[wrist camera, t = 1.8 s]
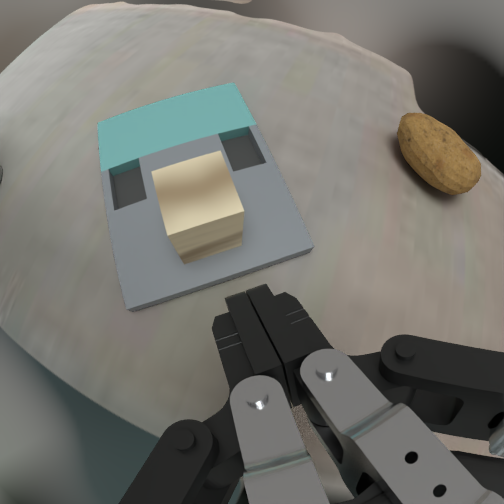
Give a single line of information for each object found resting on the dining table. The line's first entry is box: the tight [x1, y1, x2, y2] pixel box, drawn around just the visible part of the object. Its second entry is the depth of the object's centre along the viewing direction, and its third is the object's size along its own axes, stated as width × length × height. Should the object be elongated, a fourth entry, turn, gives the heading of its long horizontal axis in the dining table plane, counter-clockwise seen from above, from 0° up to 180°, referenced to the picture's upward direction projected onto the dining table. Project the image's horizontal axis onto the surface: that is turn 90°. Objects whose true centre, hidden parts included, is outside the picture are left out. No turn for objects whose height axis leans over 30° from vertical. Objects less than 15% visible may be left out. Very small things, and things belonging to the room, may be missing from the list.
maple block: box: [152, 150, 244, 264], centre depth 26 cm, size 6×6×8 cm
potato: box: [397, 113, 481, 195], centre depth 34 cm, size 10×14×8 cm
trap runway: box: [98, 83, 314, 312], centre depth 33 cm, size 26×20×2 cm
